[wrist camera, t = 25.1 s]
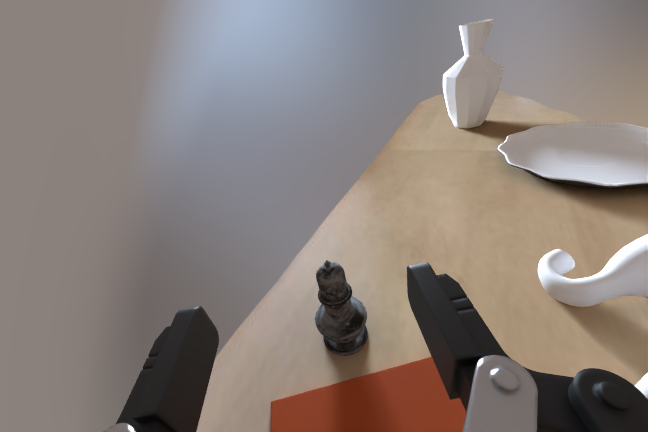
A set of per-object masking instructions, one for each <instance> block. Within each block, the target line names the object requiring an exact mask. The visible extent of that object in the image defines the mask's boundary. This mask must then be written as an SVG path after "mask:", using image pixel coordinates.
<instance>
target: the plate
mask: <svg viewBox="0 0 648 432" xmlns="http://www.w3.org/2000/svg"><path fill="white" fill-rule="evenodd" d="M498 151H499V152H500V153H502V154H503V155H504V156H505V158H506V161H507V163H508V164H510V165H511V166H514V167H517V168H521V169H523V170H525V171H527V172H529V173H531V174H533V175H535V176H538V177H541V178H544V179H548V180H551V181H554V182H560V183H565V184H570V185H576V186H586V187H597V188H628V187H637V186H648V128H646V127H641V126H636V125H632V124H626V123H591V122H570V123H563V124H556V125H542V126H536V127H532V128H530V129H528V130H525V131H522V132H518V133H514V134H511V135H509V136H507V138H506V140H505V142H504V143H503V144H501V145H500V146H499V147H498Z"/></svg>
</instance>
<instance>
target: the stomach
mask: <svg viewBox="0 0 648 432" xmlns="http://www.w3.org/2000/svg"><path fill="white" fill-rule="evenodd" d="M574 266H575V262H574V260H573V258H572V257H571V255H570V254H568V253H567V252H565V251H563V250H559V249H557V250H553V251H551V252H549V253H547V254H546V255H545V256H543V257H542V258H541V260H540V262H539V265H538V275H539V279H540V281H541V284H542V286H543V287H544V289H545V290H546V291H547V292H548V293H549V294H550V295H551V296H552V297H553V298H555V299H557V300H558V301H560V302H563V303H565V304H568V305H573V306H580V307H587V306H593V305H597V304H599V303H602V302H604V301H606V300H609V299H612V298H615V297H620V296H639V297H646V298H648V234H647V235H645V236H643V237H641V238H639V239H637V240H635V241H633V242H631V243H629V244H628V245H626V246H625V247H623V248H622V249H621V250H619V251H618V252H617V253H616V254H615V255H614V256H613V257H612V258H611V259H610V260H609V262H608V263H607V264H606V266H605V267H604V268H603V270H602V271H600V272H599V273H598V274H596V275H593V276H591V277H586V278H581V279H568V278H565V277H564V276H562V275H563V274H565V273H567V272H568V271H570V270H572V269H573V268H574ZM635 387H636V388H637V389H639V390H640V391H641V392H642V393H643V394H644V395H645V397H646V398H647V399H648V373H647V374H646V375H644V376H643V378H642V379H641V380H640V381H639V382H638V383H637V384H636V385H635Z"/></svg>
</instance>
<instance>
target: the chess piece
mask: <svg viewBox="0 0 648 432" xmlns="http://www.w3.org/2000/svg"><path fill="white" fill-rule="evenodd" d="M316 279H317V282H318V286H319V289H320V290H319V292H318V299H319V301H320V302H321V303H322V304H321V305H320V307H319V308H318V310H317V312H316V317H315V322H316V326H317V328H318V330H319V331H320V333H321V334H322V335H323V336H324V342H325V344H326V346H327V348H328V349H329V350H330V351H332V352H333V353H335V354H338V355H344V356H347V355H351V354H354V353H356V352H358V351H359V350H360V349H361V348H362V347H363V346H364V344H365V343H366V340H367V328H366V326H365V323H366V320H367V312H366V309H365V306H364V305H363V303H362V302H361V301H360V300H358V299H357V298H355V297H353V296H352V289H351V287H350V285H349V284H348V283H347V282H346V278H345V273H344V270H343V268H342V266H340V265H339V264H337V263H333V262H330V261H326V262H325V263H324V264H323V265H322V266H320V267H319V269H318V270H317V273H316Z"/></svg>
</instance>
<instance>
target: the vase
mask: <svg viewBox="0 0 648 432" xmlns="http://www.w3.org/2000/svg"><path fill="white" fill-rule="evenodd" d="M493 21H494V19H488V20H482V21H476V22H472V23H467V24H463V25H460V26H459V28H460V33H461V38H462V43H463V48H464V53H465V56H464V57H463V58H461V59H460V60H459V61H458V62H457V63H456V64H455V65H454V66H452V68H450V69H449V70H448V71H447V72H446V73H445V74H444V75H443V90H444V97H445V101H446V105H447V109H448V113H449V116H450V118H451V119H452V123H453V125H454V127H458V128H473V127H477V126H480V125H482V123H483V122H484V120H485V119H486V117H487V115H488V113H489V110H490V108H491V105H492V103H493V101H494V98H495V96H496V94H497V91H498V88H499V86H500V82H501V79H502V72H503V66H501V65H500V64H498V63H497V62H495V61H494V60H492V59H491V58H489V57H488V56H486V55H485V54H483V53H482V52H483V49H484V46H485V43H486V41H487V38H488V35H489V32H490V29H491V27H492V24H493Z"/></svg>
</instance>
